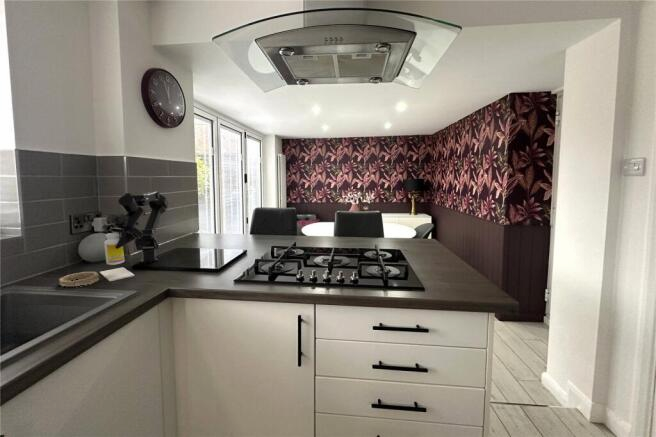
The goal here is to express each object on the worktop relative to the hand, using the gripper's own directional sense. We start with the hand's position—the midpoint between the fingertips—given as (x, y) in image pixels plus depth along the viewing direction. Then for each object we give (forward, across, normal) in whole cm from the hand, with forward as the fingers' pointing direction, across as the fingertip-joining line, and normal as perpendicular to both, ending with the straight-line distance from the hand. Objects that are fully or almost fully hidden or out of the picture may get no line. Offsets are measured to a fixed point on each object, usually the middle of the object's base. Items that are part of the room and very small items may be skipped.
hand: (110, 247), depth 137 cm
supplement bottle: (+4, 0, +6) cm, 7 cm away
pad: (+8, 0, +10) cm, 12 cm away
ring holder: (+16, -5, +1) cm, 17 cm away
